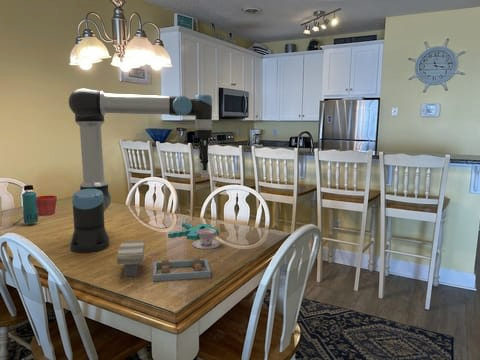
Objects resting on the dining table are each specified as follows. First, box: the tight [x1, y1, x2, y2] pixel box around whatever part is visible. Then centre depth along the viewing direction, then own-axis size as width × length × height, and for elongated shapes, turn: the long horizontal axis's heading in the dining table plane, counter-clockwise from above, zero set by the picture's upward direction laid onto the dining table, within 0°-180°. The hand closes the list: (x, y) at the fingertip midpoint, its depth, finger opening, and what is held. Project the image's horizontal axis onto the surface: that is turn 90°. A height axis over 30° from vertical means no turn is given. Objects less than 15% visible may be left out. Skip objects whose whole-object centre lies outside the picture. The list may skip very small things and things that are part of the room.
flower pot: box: [36, 194, 58, 216], centre depth 204 cm, size 11×11×10 cm
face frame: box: [152, 256, 212, 282], centre depth 128 cm, size 19×12×4 cm, turn 102°
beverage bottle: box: [21, 184, 39, 224], centre depth 182 cm, size 6×7×20 cm
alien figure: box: [167, 221, 219, 241], centre depth 174 cm, size 20×2×20 cm
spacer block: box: [123, 264, 140, 277], centre depth 129 cm, size 4×11×5 cm, turn 12°
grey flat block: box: [116, 240, 146, 266], centre depth 128 cm, size 15×8×3 cm, turn 12°
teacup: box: [191, 229, 221, 250], centre depth 157 cm, size 12×12×6 cm
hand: (203, 175), depth 170 cm, fingers open, 13 cm apart
